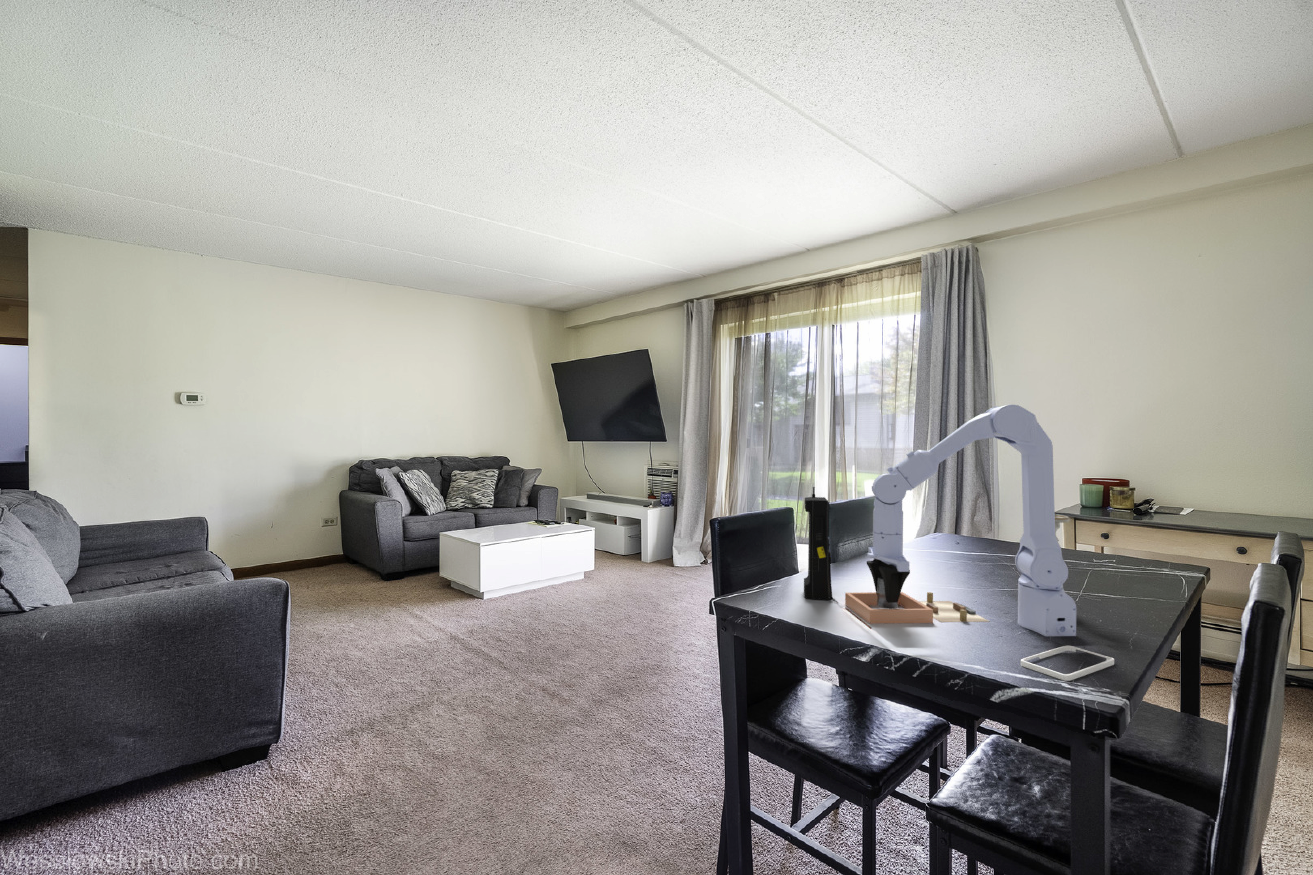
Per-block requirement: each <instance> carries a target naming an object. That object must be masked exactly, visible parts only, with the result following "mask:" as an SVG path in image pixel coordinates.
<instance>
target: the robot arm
mask: <svg viewBox="0 0 1313 875" xmlns="http://www.w3.org/2000/svg"><path fill="white" fill-rule="evenodd" d="M992 438H993V439H994V438H995V439H997V440H1000V441H1003V442H1005V443H1007V444H1008V445H1010V446H1011V447H1012V448H1014V449H1015V450H1016V451H1018V453H1020V456H1021V462H1020V463H1021V488H1022V489H1021V490H1022V494H1021V496H1022V521H1023V522H1022V526H1023V528H1022V529H1023V531H1022V532H1023V533H1022V535H1021V537H1020V540H1019V549H1018V551H1017V553H1016V555H1015V558H1014V563H1015V567H1016V569H1017V570H1018V572H1020V573H1021V574H1020V576H1019V578H1018V583H1017V584H1018V586H1017V624H1018V625H1019V626H1020V627H1022V628H1024V629H1028V630H1031V631H1033V632H1035V633H1038V634H1040V635H1042V636H1044V637H1077V605H1076V604H1077V603H1076V602H1075V600H1074V598H1073V597H1071V596H1070V595H1068V594H1067V592H1066V591H1065V589H1064V583H1065V582H1066V581H1067V580H1068V577H1069V568H1068V565H1067V564H1066V561H1065V560H1064V558H1063V553H1062V548H1061V545H1060V543H1059V541H1057V539H1056V537H1057V535H1056V536H1055V514H1056V513H1055V486H1054V485H1055V480H1054V452H1053V451H1054V450H1053V449H1054V447H1053V446H1054V445H1053V442H1052V440H1051V438H1050V437H1049V436H1048V434H1047V432H1045V430H1044V429H1043V427H1042V426H1041V425H1040V423H1039V422H1038V420H1037V417H1036V415H1035V413H1033V412H1031V411H1029V410H1028V409H1027V408H1024V407H1022V406H1021V405H1018V404H1006V405H1003V406H993V407H991V408H989V409H987V410H986V411H984V412H983V413H980V414H979V415H976V416H975V417H973V418H971V419H970V420H968V421H966V422H964V423H963V424H962V425H961V426H959V427H958V428H957V429H956V430H954V431H953V432H951V433H950V434H949V435H948V436H946V437H945V438H944V439H942V440H941V441H940V442H938V443H937V444H935V445H934V446H933V447H932V448H930V449H929V450H923V449H917V450H916V451H915V452H914V451H913V450H910V451H908V452H907V453H906V458H904V459H903V460H901V461H900V462H899V463H897V464H895V466H893V467H892V466H889V467H887V468H886V471H888V473H883V474H880V475H878V476H877V477H876V478H875V479H874V481H873V483H872V486H871V491H872V493H873V496H874V500H873V507H874V508H873V511H872V516H873V517H872V546H871V547H869V546H868V547H867V551H868V552H867V555H866V557H868V558H870V559H873V560H867V561H866V566H867V567H868V569H869V571H870V574H871V575H872V580H873V585H874V589H875V592H876V594H877V590H878V577H880V576H882V578H883V581H884V588H885V597H886V601H887V602H888V603H897V602H898V600H899V597H900V593H901V592H902V589H903V586H904V585H905V581H906V580H907V578H908V577H909V575H910V574H911V569H910V561H908V560H907V559H906V556H905V554H903V553H904V550H903V549H904V538H903V537H904V511H903V501H904V500H903V499H904V498H905V497H906V495H907V491H910V492H911V491H913V490H914V489H915V488H917V487H918V486H920V485H922V483H924V482H926V481H927V480H929V479H930V478H932V477H933V476H935V475H936V474H937V473H938V470H939V465H940V463H942V462H944V461H945V460H946V459H948V458H950V457H951V456H952V455H954V454H956V453H957V452H959V451H961V450H962V449H964V448H966V447H967V446H969V445H970V444H972V443H973V442H975V441H979V440H984V439H985V440H987V439H992Z"/></svg>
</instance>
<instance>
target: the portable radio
mask: <svg viewBox="0 0 1313 875" xmlns="http://www.w3.org/2000/svg"><path fill="white" fill-rule="evenodd" d="M815 488H816V487H815V486H812V494H811V496H809V497H804V511H805V512H806V513H808V552H807V553H808V558H807V560H808V563H807V564H808V565H807V567H808V569H807V576H806V577H804V578H803V594H804V598H805V599H809V600H821V601H822V600H824V601H830V600H831V598H833V591H832V590H833V589H832V571H831V570H832V569H831V564H832V556H831V552H830V539H829V537H830V501H829V500H828V499H827V498H826V497H825V496H824V497H821V496H816V493H815Z"/></svg>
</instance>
